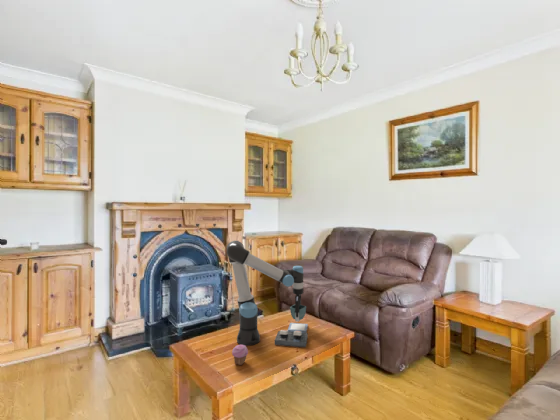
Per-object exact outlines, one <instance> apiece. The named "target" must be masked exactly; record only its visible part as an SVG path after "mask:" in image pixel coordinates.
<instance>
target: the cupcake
mask: <svg viewBox="0 0 560 420" xmlns="http://www.w3.org/2000/svg"><path fill="white" fill-rule="evenodd" d="M231 354H232V356H233V360H234V361H233V362H234V364H235V365H238V366H242V365H243V364H244V363H245V362H246V359H247V355H248V354H249V349H248V347H247V346H246V345H241V344H238V345H235V347H233V349H232V351H231Z"/></svg>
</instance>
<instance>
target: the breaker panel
mask: <svg viewBox="0 0 560 420" xmlns="http://www.w3.org/2000/svg"><path fill="white" fill-rule="evenodd" d="M280 331H281V330H279V331H277V334H276V335H275V338H274V346H285V347H294V348H295V347H298V348H307V344H308V339H309V338H308V335H309V334H308V333H307V332H306V333H302V335H301V336H299V335H294V332H288V334H287V335H284V334H280Z"/></svg>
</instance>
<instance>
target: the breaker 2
mask: <svg viewBox="0 0 560 420" xmlns="http://www.w3.org/2000/svg"><path fill="white" fill-rule="evenodd" d="M294 335H299V336H301V335H302V332H301V331H294Z"/></svg>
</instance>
